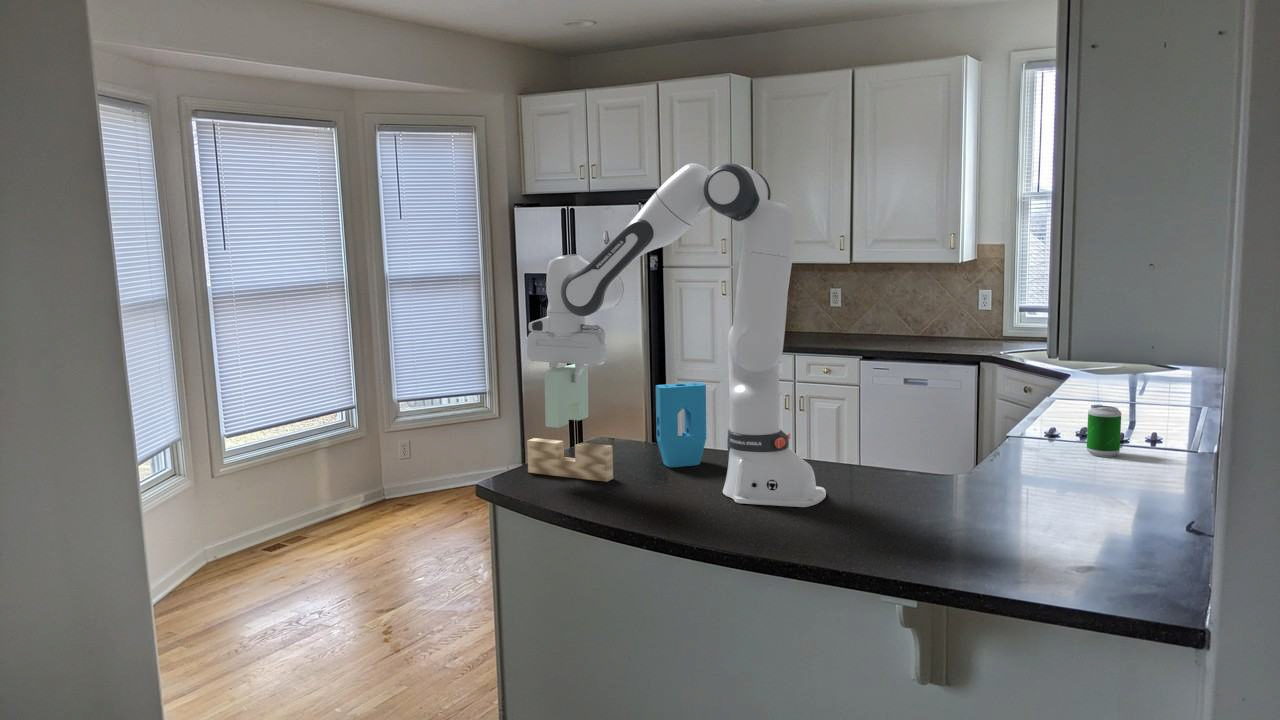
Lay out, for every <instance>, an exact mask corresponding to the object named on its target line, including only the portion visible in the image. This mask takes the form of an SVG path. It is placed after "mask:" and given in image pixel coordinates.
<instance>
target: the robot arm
mask: <svg viewBox="0 0 1280 720" xmlns="http://www.w3.org/2000/svg"><path fill="white" fill-rule="evenodd" d="M771 195H772V193H771V188H770V185H769V183H768V181H767V180H766V178H765V177H764V176H763V175H761V174H760V173H759V172H757V171H754V170H753V169H752V168H750V167H748V166H745V165H739V164H736V163H724V164H721V165H719V166H716V167H715V168H713V169H712V170H711V171H710V170H709V169H708V168H707V167H706V166H704V165H701V164H699V163H695V162H692V163H688V164H685V165H684V166H683V167H681V168H680V169H678V170H677V171H676V172H674V173H673V174H672V175H671V176H670V177H668V178H667V179H666V180H665V182H664V183H662V184H661V185H660V187H659V188H658V189H657V190H656V191H655V192H654V193H653V194H652V195H651V197H649V198H648V200H647V201H646V203H644V205H643V206H642V207H641V209H639V211H638V213H637V214H636V215H635V216H634V217H633V218H632V219H631V220H630V222H629V223H627V225H626V226H625V228H623V230H622V231H620V233H619V234H618V235H616V237H615V238H614V239H613V240H612V241H611V242H609V244H608V245H607V246H605V247H604V248H603V250H602V251H601V252H600V253H599V254H598V255H597V256H596V257H595V258H594V259H592V261H591V262H589V261H587V260H586V259H585V258H583V257H582V255H580V254H577V253H573V254H571V253H570V254H566V255H565V254H564V255H560V256H556V257H554V258H552V259H550V260H549V262H548V265H547V269H546V279H545V280H546V287H545V289H546V291H545V292H546V296H547V300H548V301H547V302H548V303H547V309H546V316H544V317H542V318H539V319H536V320H532V321H531V322H529V323H528V331H530V333H528V335H527V338H526V339H527V341H526V355H527V358H528V360H529V361H530V362H540V363H542V362H543V363H548V368H549V370H552V369H556V368H558V366H559V364H569V365H572V364H575V368H576V369H577V370H576V373H575V375H571V378H572V380H571V381H572V383H579V382H580V375H581V373H582V372H583V370H584V368H585V365H588V366H600V365H604V364H605V363H606V361H607V355H608V354H607V348H606V333H605V330H604V329H603V327H600V325H598V324H593V325H591V324H586V322H585V319H586V316H590V315H592V314H595V313H598V312H602V311H607V310H609V309H612V308H614V307H616V306H617V305H618V304H619V303H620V302H621V300H622V299H623V297H624V283H623V280H622V278H621V277H620V275H621V274H622V273H623V272H624V271H625V270H626V269H627V268H628V267H629V266H630V265H631V264H632V263H634V261H635V260H636V259H638V258H640V257H642V256H643V255H645V254H647V253H649V252H651V251H654V250H657V249H660V248H664V247H667V246H669V245H671V244H672V243H674V242H675V241H677V240H679V238H681V237H682V236H683V235H684V234H685V233H686V232H688V231H689V230H690V229H691V227H693V225H694V224H695V223H696V222H697V221H698V219H700V218H701V217H702V216H703V215H704V214H705V213H706V212H707V211H710V210H714V211H715V212H717V213H718V214H720V215H723V216H725V217H727V218H729V219H731V220H733V221H735V222H740V224H741V226H742V228H743V230H742V231H743V235H742V236H743V238H742V246H741V251H740V252H741V253H740V260H739V265H738V266H739V267H738V274H737V281H736V290H735V301H734V302H735V303H734V304H735V305H734V315H733V320H732V322H733V324H732V325H731V327H730V329H729V332H728V335H727V336H728V337H727V351H728V353H727V355H728V384H729V385H728V386H729V387H728V388H729V391H728V392H729V428H728V430H727V439H726V441H727V443H726V445H727V446H726V447H727V455H728V465H727V470H726V476H725V481H724V486H723V489H722V493H723V495H724V496H725V497H728V498H731V499H732V500H733V501H734V502H735V503H737V504H746V505H747V504H748V505H761V506H777V507H778V506H779V507H794V508H795V507H797V508H809V507H811V506H815V505H818V504H819V503H821V502H822V501H823V500H824V499H826V497H827V491H826V489H825V488H824V487H822V486H819V485H818V486H817V483H816V476H815V472H814V471H815V470H814V469H813V467H812V465H811V464H809V462H807V461H806V460H804V459H803V458H802V457H800V456H799V455H798V454H797V453H795V451H793V450H792V449H791V448H790V447H789V445H790V439H791V433H788V434H786V433H785V432H784V431H783V430H782V429H781V389H780V376H779V373H780V372H779V371H780V370H779V361H780V359H781V357H782V355H783V351H784V345H785V344H784V343H785V335H786V334H785V332H786V321H787V308H788V296H789V295H788V293H789V286H790V278H791V274H792V273H791V271H792V265H793V258H794V251H795V235H796V234H795V233H796V231H795V225H796V224H795V216H794V212H793V210H792V209H791V208H790V207H789V206H787V205H786V204H785V203H782V202H778V201H773V200H771Z"/></svg>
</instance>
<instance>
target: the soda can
mask: <svg viewBox="0 0 1280 720" xmlns="http://www.w3.org/2000/svg"><path fill="white" fill-rule="evenodd" d="M1121 430H1122V411H1121V410H1119V408H1118V407H1117V406H1110V405H1092V406H1091V408H1089V409H1088V411H1087V432H1086V451H1087V452H1088V453H1089V455H1091V456H1094V457H1100V458H1114V457H1116V456H1117V454H1119V453H1120V451H1121V448H1120V447H1121V433H1122V431H1121Z"/></svg>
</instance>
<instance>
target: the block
mask: <svg viewBox="0 0 1280 720" xmlns="http://www.w3.org/2000/svg"><path fill="white" fill-rule="evenodd" d="M682 410H684V411H683V412H684V414H683V415H684V432H683V431H682V432H681V435H679V423H678V422H679V420H678V419H679V416H678V415H679V413H680V412H681V411H682ZM655 420H656V422H655V423H656V427H655V428H656V429H655V430H656V433H655V434H656V442H657V446H658V449H659V452H660V456H661V459H662V462H663V465H664V466H666V467H667V468H679V467H691V466H699V465H700V464H701V461H702V457H703V453H704V449H705V445H706V440H707V385H706V384H705V383H704V382H684V383H668V384H667V383H665V384H657V385H655Z"/></svg>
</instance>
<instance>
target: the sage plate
mask: <svg viewBox="0 0 1280 720" xmlns="http://www.w3.org/2000/svg"><path fill="white" fill-rule="evenodd" d="M588 367H589V365H585V368H584V370H583V372H582V373H581V375H580V382H579V383H572V381H571V380H572V378H571V375H575V373H576V370H577V369H576V368H575V364H568V365H565V366H561V367H557V368H556V369H552V370H551V369H548V370H544V371H543V372H544V413H545V418H544V419H545V427H547V428H557V429H559V428H562V427H565V426H567V425H569V420H570V421H571V420H572V421H581V420H584V419H588V418H589V416H590V415H589V368H588Z"/></svg>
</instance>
